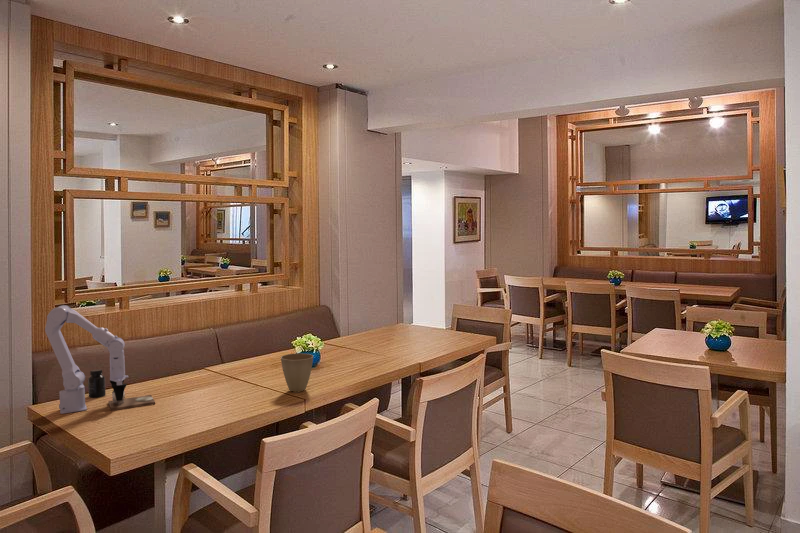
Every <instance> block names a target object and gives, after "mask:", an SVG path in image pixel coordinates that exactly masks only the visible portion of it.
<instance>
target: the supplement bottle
mask: <svg viewBox="0 0 800 533" xmlns="http://www.w3.org/2000/svg"><path fill="white" fill-rule="evenodd" d="M89 373H90V375H89V377H88V379H87V383H88V384H87V386H88V397H89V398H90V399H96V398H97V399H99V398H102V397H103V398H104V397H105V396H106V394H107V392H106V391H107V390H106V377H105V375H103V369H102V368H101V369H100V368H99V369H98V368H97V369H91V370H90V371H89Z"/></svg>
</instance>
